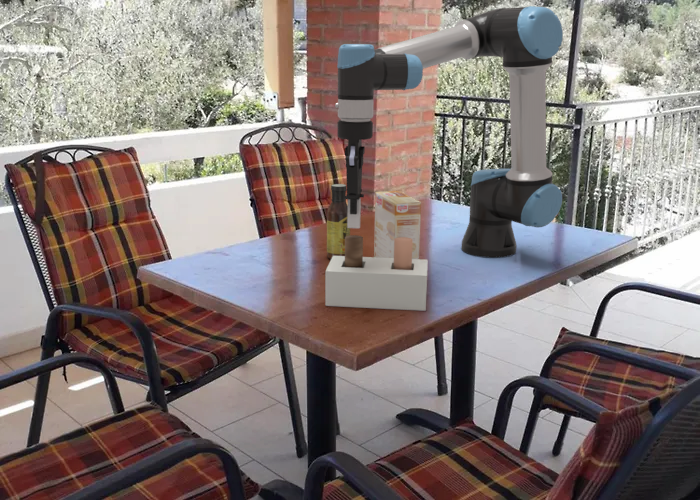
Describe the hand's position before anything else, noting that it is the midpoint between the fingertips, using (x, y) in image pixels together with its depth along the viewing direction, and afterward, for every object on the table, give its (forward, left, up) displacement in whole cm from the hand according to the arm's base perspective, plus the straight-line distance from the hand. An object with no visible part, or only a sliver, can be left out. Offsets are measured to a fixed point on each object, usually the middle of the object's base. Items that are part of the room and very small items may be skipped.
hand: (353, 227), depth 157 cm
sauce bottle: (+7, -31, -17) cm, 36 cm away
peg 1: (0, 0, -11) cm, 11 cm away
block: (-6, 0, -17) cm, 17 cm away
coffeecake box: (-9, -21, -17) cm, 28 cm away
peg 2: (-11, 0, -11) cm, 15 cm away
